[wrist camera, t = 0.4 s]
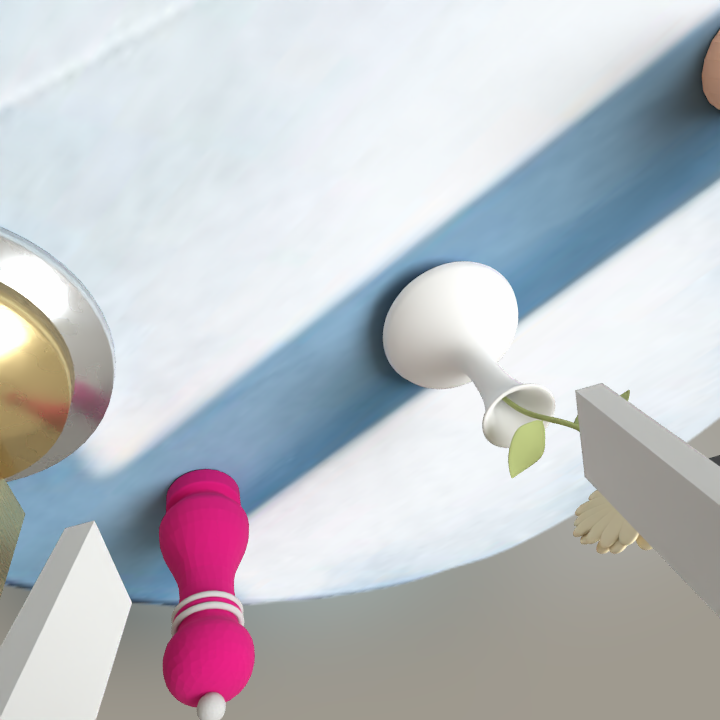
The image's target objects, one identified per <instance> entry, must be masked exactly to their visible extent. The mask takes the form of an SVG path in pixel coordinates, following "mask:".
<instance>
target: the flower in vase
mask: <svg viewBox="0 0 720 720" xmlns="http://www.w3.org/2000/svg"><path fill="white" fill-rule="evenodd" d="M517 323H518V308H517V302H516V298H515V294H514V292H513V290H512V287H511V286H510V284H509V283H508V281H507V280H506V279H505V278H504V277H503V275H501V274H500V273H499V272H498V271H496V270H495V269H493V268H491V267H489V266H487V265H484V264H481V263H476V262H468V261H460V262H452V263H447V264H443V265H440V266H437V267H434V268H432V269H430V270H428V271H426V272H424V273H423V274H421V275H420V276H418V277H417V278H415V279H414V280H413V281H412V282H410V283H409V284H408V285H407V286H406V287H405V288H404V289H403V290H402V291H401V293H400V294H399V295H398V296H397V298H396V299H395V301H394V302H393V304H392V306H391V308H390V310H389V312H388V314H387V317H386V320H385V324H384V329H383V346H384V350H385V354H386V356H387V359H388V361H389V363H390V364H391V366H392V367H393V368H394V370H395V371H396V372H397V373H398V374H400V375H401V376H402V377H403V378H405V379H407V380H408V381H410V382H412V383H414V384H417V385H419V386H422V387H426V388H431V389H448V388H454V387H458V386H462V385H465V384H467V383H470V382H472V381H473V383H474V384H475V386H476V387H477V389H478V391H479V393H480V395H481V397H482V399H483V402H484V405H485V414H484V417H483V422H482V428H483V433H484V435H485V437H486V439H487V440H488V441H489V442H490V443H492V444H493V445H496V446H498V447H504V448H509V455H508V463H509V471H510V475H511V478H514V477H515V476H517V475H518V474H519V473H521V472H522V471H524V470H525V469H527V468H528V467H530V466H531V465H533V464H534V463H535V462H537V461H538V460H539V459H540V458H541V456H542V455H543V452H544V449H545V429H546V428H547V426H548V425H549V423H550V422H552V423H556V424H560V425H564V426H567V427H570V428H573V429H576V430H577V431H579V432H580V428H579V419H578V415H577V417H576V419H575V421H574V423H573V422H570V421H566V420H563V419H559V418H554V417H553V415H554V412H555V400H554V397H553V395H552V393H551V392H550V391H549V390H548V389H546V388H545V387H543V386H540V385H537V384H523V383H520V382H518V381H517V380H515V379H514V378H512V377H511V376H510V375H509V374H508V373H507V372H505V370H504V369H503V368H502V367H501V366H500V365H499V364H498V362H499V361H500V360H501V359H502V357H503V356H504V354H505V353H506V352H507V350H508V348H509V347H510V345H511V343H512V341H513V338H514V336H515V332H516V329H517ZM629 394H630V390H628V391H626V392H625V393H623V394H622V395H620V396H621V397H622V398H624V399H625V400H627V401H628V399H629ZM589 500H590V501H588V502H586V503H584V504H582V505H581V506H579V507H578V508H577V510H576V511H575V515H576V516H578V517H577V519H576V520H575V522H574V526H577V527H576V528H575V530H574V532H573V535H574V536H575V537H579V536H582V537H581V540H580V542H581V544H593V543H595V542H597V541H599V540H600V541H599V543H598V545H597V552H598V553H600V554H604V553H607V552H608V551H610V552H611V553H613V554H617V553H620V552H621V551H623V550H624V549H625V548H626V546H627V545H630V544H632V543H633V542H634V541H635V540H636V541H637V544H638V546H639V547H640V548H641V549H643V550H651V549H653V548H652V547H651V546H650V545H649V543H648V542H647V541H646V540H645V539H644V538H643V537H642V536H641V535H640V534H639V533H638V532H637V531H636V530H635V529H634V528H633V527H632V526H631V525H630V524H629V523H628V521H627V520H626V519H625V518H624V517H623V516H622V515H621V514H620V513H619V512H618V511H617V510H616V509H615V508H614V507H613V506H612V505H611V504H610V503H609V502H608V501H607V499H606V498H605V497H604V496H603V495H602V494H601V493H600V492H599V491H598V490H596V491H594V492H593V493H592V494H591V495H590V496H589Z"/></svg>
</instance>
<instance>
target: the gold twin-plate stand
mask: <svg viewBox="0 0 720 720" xmlns="http://www.w3.org/2000/svg"><path fill="white" fill-rule="evenodd" d="M74 388H75V373H74V366H73V361H72V358H71V355H70V351H69V349H68V347H67V345H66V343H65V340H64V338H63V337H62V335H61V334H60V332H59V331H58V329H57V328H56V326H55V325H54V323H53V322H52V321H51V320H50V319H49V318H48V317H47V315H46V314H45V313H44V312H43V311H42V310H41V309H40V308H38V307H37V306H36V305H35V304H34V303H33V302H32V301H31V300H29V299H28V298H26V297H25V296H24V295H22V294H21V293H19V292H18V291H17V290H15V289H13V288H11V287H10V286H8V285H6V284H4V283H3V282H1V281H0V597H1V594H2V591H3V587H4V584H5V581H6V577H7V574H8V571H9V567H10V564H11V560H12V557H13V554H14V550H15V547H16V544H17V540H18V537H19V533H20V530H21V527H22V523H23V520H24V516H25V513H24V511H23V509H22V508H21V506H20V504H19V503H18V501H17V499H16V498H15V496H14V494H13V493H12V491H11V489H10V488H9V486H8V484H7V483H6V481H5V478H8V477H10V476H13V475H15V474H17V473H19V472H21V471H23V470H25V469H27V468H28V467H30V466H31V465H33V464H34V463H36V462H37V461H38V460H39V459H40V458H42V457H43V456H44V455H45V454H46V453H47V452H48V451H49V450H50V449H51V447H52V446H53V445H54V444H55V443H56V441H57V439H58V438H59V436H60V434H61V433H62V431H63V428H64V426H65V423H66V421H67V417H68V413H69V409H70V406H71V402H72V398H73V393H74Z"/></svg>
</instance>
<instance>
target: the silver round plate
mask: <svg viewBox="0 0 720 720" xmlns="http://www.w3.org/2000/svg"><path fill="white" fill-rule="evenodd" d="M0 281H1V282H3V283H4V284H6V285H8V286H10V287H11V288H13V289H15V290H17V291H18V292H19V293H21V294H22V295H24V296H25V297H26V298H28V299H29V300H31V301H32V302H33V303H34V304H35V305H36V306H37V307H38V308H40V309H41V310H42V311H43V312H44V313H45V314H46V315H47V317H48V318H49V319H50V320H51V321H52V322H53V323H54V325H55V326H56V328H57V329H58V331H59V332H60V334H61V335H62V337H63V338H64V340H65V343H66V345H67V347H68V349H69V351H70V355H71V358H72V361H73V366H74V373H75V388H74V393H73V398H72V402H71V406H70V409H69V413H68V417H67V421H66V423H65V426H64V428H63V431H62V433H61V434H60V436H59V438H58V439H57V441H56V443H55V444H54V445H53V446H52V447H51V449H50V450H49V451H48V452H47V453H46V454H45V455H44V456H43V457H42V458H40V459H39V460H38V461H37V462H36V463H34V464H33V465H31V466H30V467H28V468H27V469H25V470H23V471H21V472H19V473H17V474H15V475H13V476H10V477H8V478H5V481H6V482H8V481H12V480H16V479H20V478H23V477H27V476H29V475H32V474H35V473H37V472H40V471H43V470H45V469H47V468H49V467H51V466H53V465H55V464H57V463H58V462H60V461H61V460H63V459H64V458H66V457H67V456H69V455H71V454H72V453H73V452H74V451H76V450H77V449H78V448H79V447H80V446H81V445H82V444H84V443H85V442H86V440H87V439H88V438H89V437H90V436H91V435H92V433H93V432H94V431H95V430H96V428H97V427H98V425H99V423H100V422H101V420H102V419H103V417H104V414H105V412H106V410H107V407H108V405H109V402H110V398H111V393H112V389H113V384H114V378H115V363H116V361H115V351H114V344H113V340H112V336H111V333H110V329H109V327H108V324H107V322H106V320H105V317H104V315H103V313H102V311H101V310H100V308H99V306H98V305H97V303H96V301H95V300H94V298H93V296H92V295H91V294H90V293H89V291H88V290H87V289H86V288H85V286H84V285H83V284H82V283H81V281H80V280H79V279H78V278H77V277H76V276H75V275H74V274H73V273H72V272H71V271H69V270H68V269H67V268H66V267H65V266H64V265H63V264H62V263H61V262H59V261H58V260H57V259H55V258H54V257H53V256H52V255H50V254H49V253H48V252H46V251H45V250H43V249H42V248H40V247H38V246H37V245H35V244H33V243H32V242H30V241H29V240H27V239H25V238H23V237H21V236H19V235H17V234H15V233H13V232H11V231H9V230H7V229H4V228H2V227H0Z"/></svg>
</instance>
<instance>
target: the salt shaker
mask: <svg viewBox="0 0 720 720" xmlns="http://www.w3.org/2000/svg"><path fill="white" fill-rule="evenodd" d="M702 84H703V91H704V93H705V95H706V97H707V99H708V101H709V103H710V104H712V105H713V106H714V107H716V108H717V109H719V110H720V30H719V31H718V33H717V34H716V36H715V37H714V39H713V40H712V42H711V44H710V47H709V49H708V52H707V54H706V56H705V59H704V65H703V71H702Z"/></svg>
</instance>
